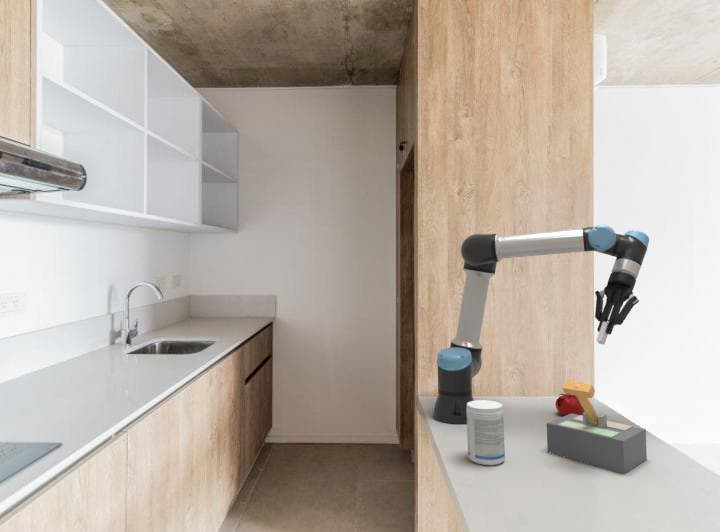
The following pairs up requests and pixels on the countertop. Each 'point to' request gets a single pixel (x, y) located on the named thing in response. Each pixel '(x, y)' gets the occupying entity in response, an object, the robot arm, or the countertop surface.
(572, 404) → the pomegranate
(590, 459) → the box
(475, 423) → the supplement tub
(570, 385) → the lever
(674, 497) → the countertop surface
